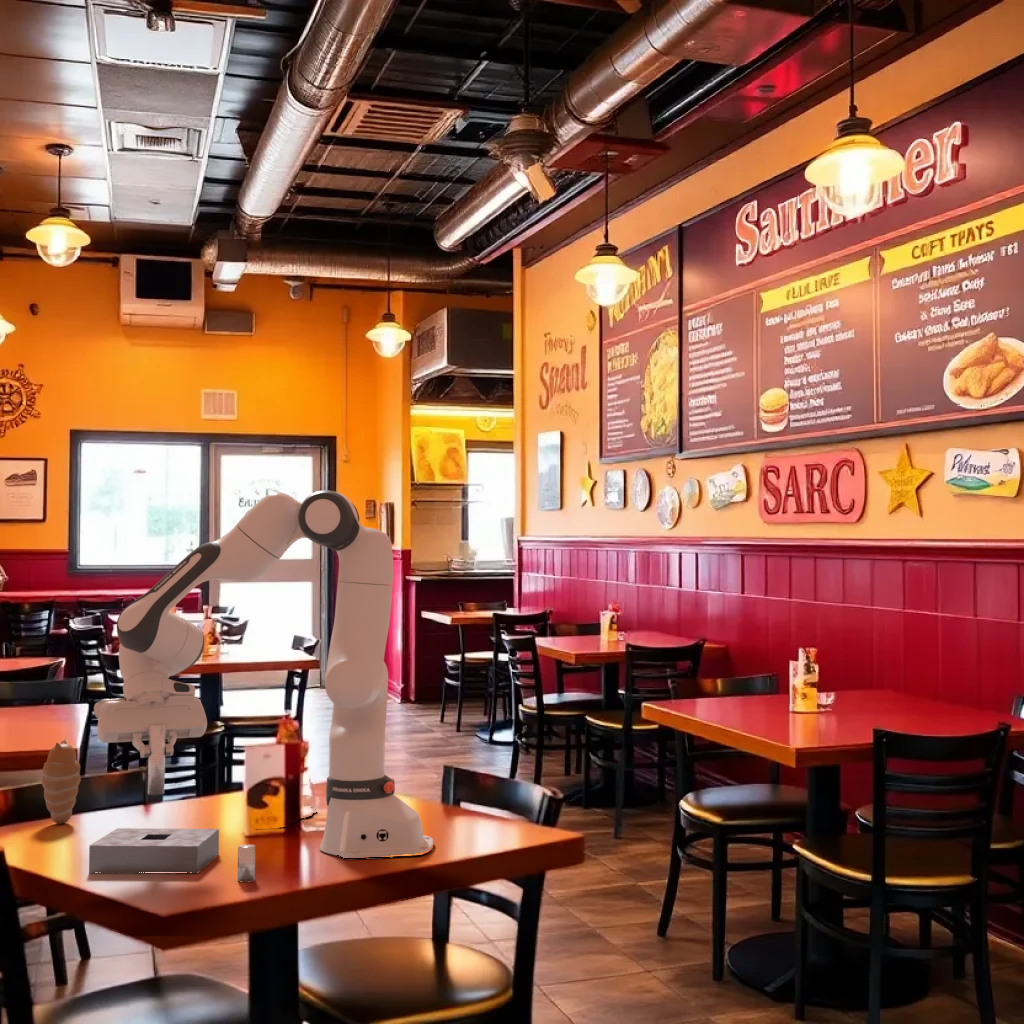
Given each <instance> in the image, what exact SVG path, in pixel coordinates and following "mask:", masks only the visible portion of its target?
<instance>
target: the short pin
mask: <svg viewBox="0 0 1024 1024" xmlns="http://www.w3.org/2000/svg"><path fill="white" fill-rule="evenodd" d="M255 875H256V845H255V844H240V845H239V846H237V882H238V881H242V882H248V881H253V880H254V881H255V880H256V878H255V877H256V876H255ZM254 881H253V882H254ZM248 883H249V882H248Z"/></svg>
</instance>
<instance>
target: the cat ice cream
mask: <svg viewBox="0 0 1024 1024" xmlns="http://www.w3.org/2000/svg"><path fill="white" fill-rule="evenodd" d="M45 757H47V760H46V762H44V764H43V767H42V775H43V777H42V778H41V785H42V788H43V789H44V790H43V797H44V798H43V799H44V800H45V805H46V809H47V811H48V812H49V813H50V818H51V820H52V821H53V822H54V823H55V824H56V825H63V824H62V823H64V824H66V823H67V822H69V820H70V819H71V817H72V815H73V808H74V806H75V805H76V804H77V803H76V802H77V798H76V797H77V795H78V793H79V785H80V782H81V781H82V779H81V778H82V777H81V774H80V771H81V764H80V763H79V761H77V753H76V750H75V748H74V746H72V745H71V744H68V743H67V740H66V739H62V740H61V742H60V743H58V742H55V746H53V747H52V748H51V749H50V751H48V753H47V755H46V756H45Z"/></svg>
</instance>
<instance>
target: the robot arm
mask: <svg viewBox="0 0 1024 1024" xmlns="http://www.w3.org/2000/svg"><path fill="white" fill-rule="evenodd" d="M301 539H308V540H309V541H311V542H313V543H314V544H315V543H316V544H317V545H319V546H322V547H326V548H328V549H329V550H333V551H335V552H336V553H337V556H338V562H339V563H338V576H337V586H336V587H337V588H336V600H335V611H334V621H333V626H332V632H331V638H330V643H329V648H328V655H327V661H326V662H327V663H326V670H325V678H324V679H325V680H324V689H325V691H326V694H327V695H326V696H327V697H328V699H329V700H330V701H331V703H333V705H332V715H331V716H332V717H331V724H330V732H329V737H328V738H329V739H328V740H329V742H328V745H329V747H328V753H329V755H328V759H329V760H328V777H326V783H325V800H326V805H327V810H326V811H327V813H326V819H325V826H324V831H323V837H322V840H321V843H320V847H319V849H320V850H321V852H324V853H326V854H329V855H333V856H337V855H339V856H338V857H340V856H341V857H343V858H342V859H344V858H364V857H381V856H391V855H403V854H415V853H421V852H425V851H427V850H429V849H430V848H431V847H432V845H433V841H434V839H433V837H431V836H428V835H427V834H426V835H424V831H423V830H424V829H423V825H422V820H421V817H420V815H419V813H418V812H417V811H416V810H415V809H413V808H412V807H411V806H409V805H408V804H407V803H406V802H404V801H403V800H402V799H400V798H399V797H398V796H397V795H395V791H396V788H395V787H396V786H395V783H396V782H395V778H394V777H392V778H391V777H389V776H388V775H386V774H385V772H386V771H385V770H386V769H385V761H386V760H385V759H386V758H385V757H386V756H385V754H386V751H385V748H386V744H385V741H386V725H387V708H388V695H389V693H388V691H389V671H388V667H387V664H386V662H385V653H386V647H387V640H388V635H389V634H388V633H389V629H390V621H391V610H392V598H393V587H394V586H393V584H394V583H393V582H394V555H393V545H392V541H391V538H390V537H389V536H388V535H387V533H385V532H384V531H381V530H379V529H377V528H373V527H368V526H367V527H366V526H364V525H362V524H361V522H360V515H359V511H358V509H357V507H356V506H355V504H354V503H353V502H352V501H351V500H350V499H349V498H348V497H347V496H346V495H344V494H343V493H340V492H337V491H334V490H330V489H329V490H328V489H327V490H326V489H324V490H317V491H315V492H313V493H311V494H309V495H308V496H307V497H306V498H305V499H304V500H303V501H302V502H301V501H298V500H297V499H295V498H294V497H292V496H291V495H290V494H288V493H284V492H281V491H280V492H279V491H273V492H270V493H268V494H266V495H265V496H264V497H263V498H261V499H260V500H259V501H258V502H257V503H255V504H254V505H253V507H251V508H250V509H249V510H248V511H247V512H246V513H245V514H244V515H243V517H242V518H240V519H239V521H238V522H237V523H236V525H235V526H234V527H233V528H232V529H230V530H229V532H227V533H226V534H224V535H223V536H222V537H220V538H218V539H216V540H214V541H211V542H208V541H207V542H205V543H202V544H200V545H199V546H197V547H196V548H195V549H193V550H192V551H191V552H190V553H189V554H188V555H187V556H185V557H184V558H183V559H182V560H180V562H178V563H177V564H176V565H175V566H174V567H173V568H172V569H171V570H170V571H168V572H167V573H166V574H165V575H164V576H163V577H162V578H161V579H160V580H158V582H156V583H155V584H154V585H153V586H152V587H151V588H150V589H149V590H147V592H145V593H144V594H143V595H141V596H139V597H138V598H137V599H135V600H133V601H132V602H130V603H129V604H128V605H127V606H125V608H123V610H122V611H121V612H120V614H119V615H118V617H117V621H116V632H117V633H116V634H117V638H118V640H119V648H118V662H119V663H118V664H119V665H118V666H119V671H120V672H119V673H120V676H121V678H122V679H123V685H122V691H123V697H122V698H121V697H120V698H119V697H118V698H111V699H110V698H104V699H103V698H102V699H101V700H100V701H97V702H96V703H95V704H94V706H93V711H94V712H93V713H94V716H95V717H96V719H98V721H97V739H98V740H99V741H100V742H101V743H102V744H110V743H127V742H131V743H132V746H133V747H134V748H135V749H136V750H137V751H138V752H139V754H140V759H144V758H149V755H150V749H149V744H144V742H143V741H149V725H150V724H156V723H162V724H166V736H165V740H167V742H168V743H165V757H171V756H173V755H174V751H175V750H174V745H175V744H176V742H177V739H187V738H189V739H190V738H201V737H203V736H204V734H205V733H206V730H207V727H208V719H207V715H206V712H205V707H204V706H203V704H202V702H201V700H200V699H199V698H198V697H197V696H196V687H195V685H193V684H190V683H186V682H185V683H184V682H182V681H181V682H180V681H177V680H174V679H170V677H173V676H176V675H178V674H181V673H182V672H184V671H186V670H187V669H189V668H190V667H192V666H193V665H195V664H196V663H197V662H198V661H199V660H201V659H200V658H201V657H202V655H203V652H204V650H205V649H204V647H205V636H204V635H205V634H204V632H203V630H202V629H201V628H200V627H199V626H197V625H196V624H194V623H192V622H190V621H189V620H187V619H185V618H183V617H180V616H178V615H177V614H175V613H173V612H171V610H172V609H173V608H174V607H175V606H176V605H178V603H180V602H181V601H182V600H183V599H184V598H185V597H186V596H187V595H188V594H189V593H190V592H192V590H193V589H195V588H196V587H197V586H199V585H201V584H202V583H204V582H207V581H212V580H214V581H216V580H217V581H219V580H221V581H222V580H224V581H233V582H239V583H240V582H241V583H242V582H243V583H244V582H247V583H248V582H253V581H257V580H260V579H261V578H263V577H264V576H265V575H267V574H268V573H269V572H270V571H272V569H273V568H274V566H276V564H277V563H278V561H279V560H280V559H281V558H282V557H283V555H284V554H285V553H286V552H287V551H288V549H290V547H291V546H292V545H293V544H294V543H295V542H297V541H298V540H301ZM341 857H340V858H341Z"/></svg>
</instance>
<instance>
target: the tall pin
mask: <svg viewBox="0 0 1024 1024" xmlns="http://www.w3.org/2000/svg"><path fill="white" fill-rule="evenodd" d="M165 736H166V724H162V723H156V724H150V725H149V740H148V745H149V749H150V755H149V757H148V763H147V764H148V765H147V767H148V769H147V795H149V796H159V795H160V796H161V795H164V794H165V783H166V782H165V781H166V780H165V778H166V777H165V773H166V756H165V744H166V739H165Z"/></svg>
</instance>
